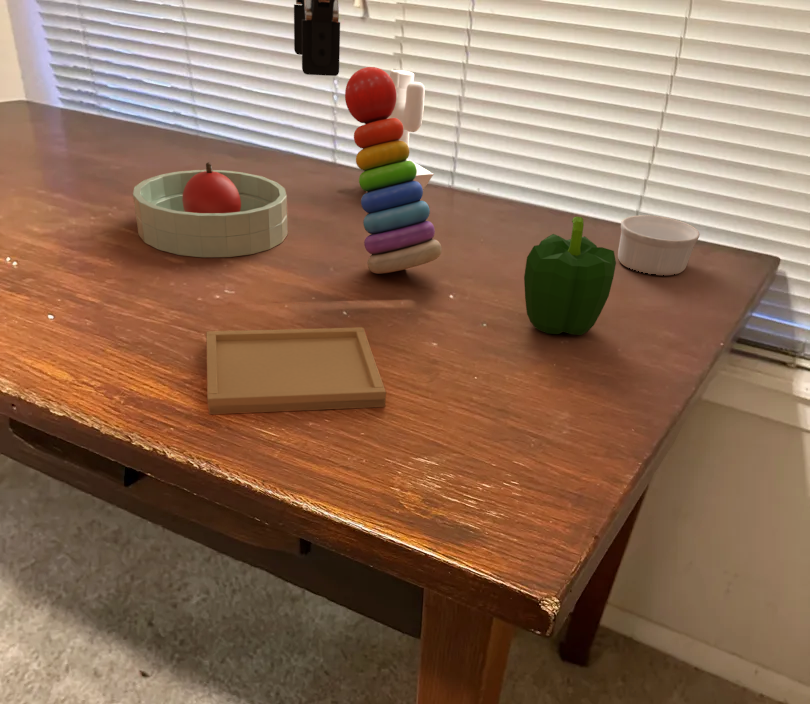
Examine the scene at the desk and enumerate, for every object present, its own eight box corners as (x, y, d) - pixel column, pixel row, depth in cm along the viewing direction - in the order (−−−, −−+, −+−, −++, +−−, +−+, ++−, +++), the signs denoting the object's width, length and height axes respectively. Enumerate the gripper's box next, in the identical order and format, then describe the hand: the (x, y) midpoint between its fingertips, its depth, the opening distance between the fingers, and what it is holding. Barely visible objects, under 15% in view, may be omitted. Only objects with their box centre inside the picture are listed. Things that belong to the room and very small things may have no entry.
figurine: (403, 184, 114) (410, 62, 105) (435, 205, 108) (445, 77, 98) (356, 188, 111) (359, 63, 102) (386, 210, 105) (392, 78, 95)
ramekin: (626, 245, 100) (634, 209, 97) (697, 262, 97) (708, 225, 94) (602, 266, 94) (610, 228, 91) (677, 285, 91) (688, 246, 88)
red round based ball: (185, 241, 90) (177, 170, 86) (185, 221, 95) (178, 153, 90) (243, 240, 91) (239, 171, 87) (241, 221, 96) (237, 154, 92)
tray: (208, 414, 63) (207, 398, 62) (207, 345, 72) (206, 331, 72) (385, 407, 66) (386, 391, 65) (363, 341, 75) (363, 327, 74)
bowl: (135, 263, 86) (128, 215, 83) (143, 212, 98) (137, 169, 95) (293, 262, 89) (292, 215, 86) (281, 213, 101) (280, 170, 98)
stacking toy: (428, 265, 81) (381, 55, 74) (358, 280, 85) (306, 81, 77) (453, 251, 88) (412, 56, 80) (387, 266, 91) (342, 80, 84)
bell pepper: (585, 353, 76) (608, 246, 70) (504, 330, 79) (520, 225, 72) (613, 322, 82) (637, 221, 75) (537, 302, 85) (554, 203, 78)
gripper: (264, -184, 70) (270, 46, 81) (274, -195, 57) (279, 81, 68) (350, -174, 71) (345, 50, 82) (379, -183, 58) (368, 85, 69)
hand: (315, 64), depth 75 cm, fingers open, 9 cm apart
